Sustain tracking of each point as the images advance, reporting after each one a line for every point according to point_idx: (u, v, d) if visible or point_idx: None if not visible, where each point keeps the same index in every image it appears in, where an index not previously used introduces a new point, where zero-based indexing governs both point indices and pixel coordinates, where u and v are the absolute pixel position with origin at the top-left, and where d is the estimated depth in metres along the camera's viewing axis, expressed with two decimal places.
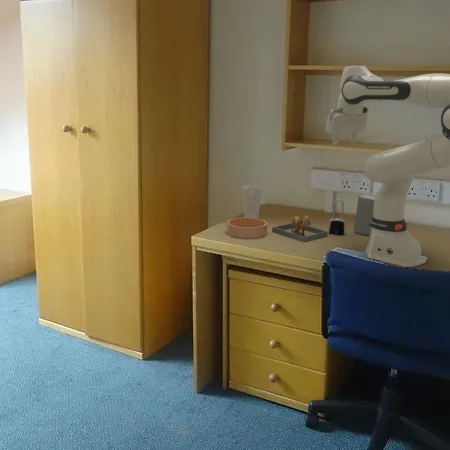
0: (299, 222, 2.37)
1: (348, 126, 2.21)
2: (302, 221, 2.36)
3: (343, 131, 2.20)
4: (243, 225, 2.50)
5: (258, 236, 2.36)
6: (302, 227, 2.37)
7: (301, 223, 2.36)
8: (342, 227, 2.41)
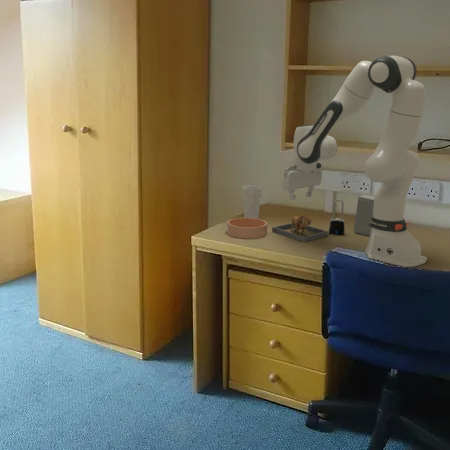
0: (299, 222, 2.37)
1: (303, 181, 2.35)
2: (302, 221, 2.36)
3: (299, 186, 2.34)
4: (243, 225, 2.50)
5: (258, 236, 2.36)
6: (302, 227, 2.37)
7: (301, 223, 2.37)
8: (342, 227, 2.41)
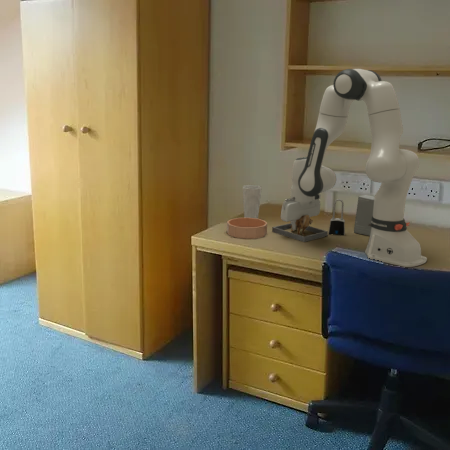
0: (300, 221, 2.38)
1: (302, 213, 2.39)
2: (303, 220, 2.37)
3: (298, 218, 2.38)
4: (243, 225, 2.50)
5: (258, 236, 2.36)
6: (303, 226, 2.38)
7: (302, 222, 2.37)
8: (342, 227, 2.41)
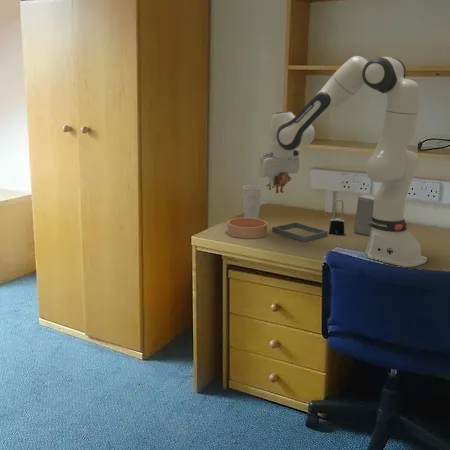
0: (278, 178, 2.34)
1: (280, 169, 2.34)
2: (282, 177, 2.33)
3: (275, 174, 2.33)
4: (243, 225, 2.50)
5: (258, 236, 2.36)
6: (282, 183, 2.34)
7: (281, 179, 2.33)
8: (342, 227, 2.41)
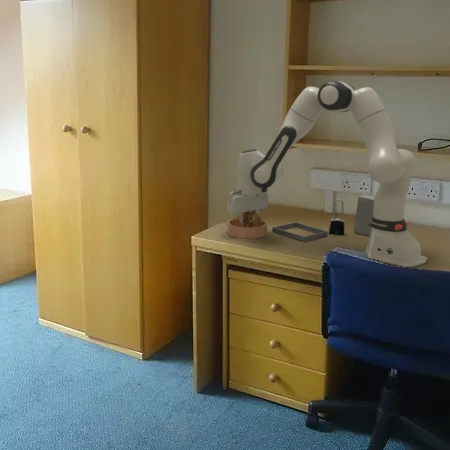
0: (249, 218, 2.36)
1: (249, 206, 2.38)
2: (252, 218, 2.35)
3: (244, 210, 2.37)
4: (243, 225, 2.50)
5: (258, 236, 2.36)
6: (251, 223, 2.37)
7: (250, 219, 2.36)
8: (342, 227, 2.41)
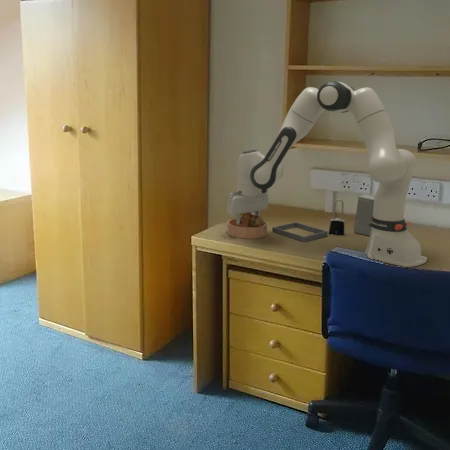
0: (252, 221, 2.37)
1: (249, 206, 2.38)
2: (255, 222, 2.36)
3: (244, 211, 2.37)
4: (243, 225, 2.50)
5: (258, 236, 2.36)
6: (253, 226, 2.38)
7: (254, 223, 2.36)
8: (342, 227, 2.41)
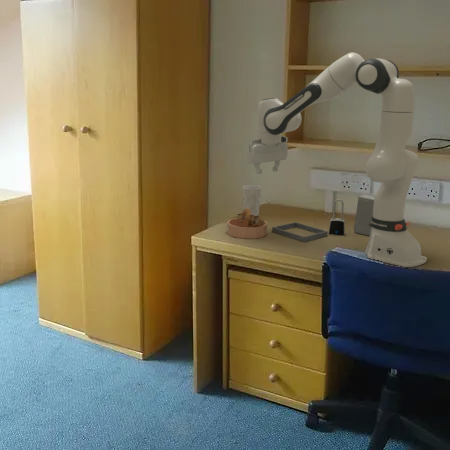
0: (252, 221, 2.37)
1: (269, 155, 2.36)
2: (255, 222, 2.36)
3: (264, 160, 2.35)
4: (243, 225, 2.50)
5: (258, 236, 2.36)
6: (253, 226, 2.38)
7: (254, 223, 2.36)
8: (342, 227, 2.41)
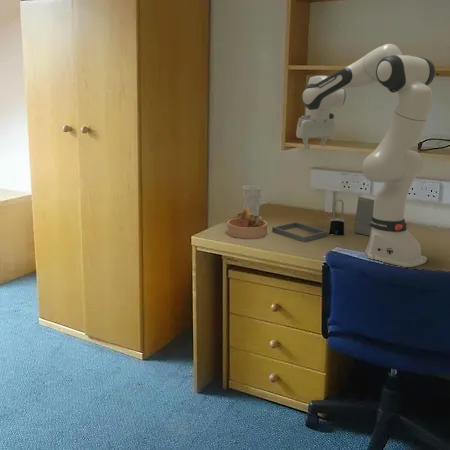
0: (252, 221, 2.37)
1: (317, 131, 2.44)
2: (255, 222, 2.36)
3: (313, 136, 2.43)
4: (243, 225, 2.50)
5: (258, 236, 2.36)
6: (253, 226, 2.38)
7: (254, 223, 2.36)
8: (342, 227, 2.41)
